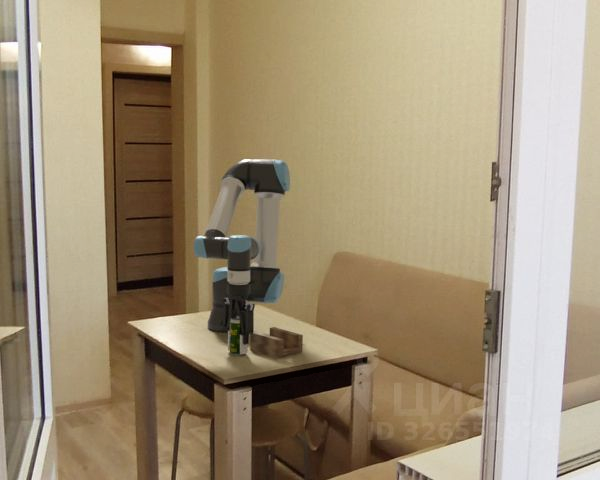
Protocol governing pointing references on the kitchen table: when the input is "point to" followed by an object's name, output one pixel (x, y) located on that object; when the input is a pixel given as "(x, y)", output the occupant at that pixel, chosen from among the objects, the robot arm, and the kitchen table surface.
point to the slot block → (276, 343)
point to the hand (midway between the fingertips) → (237, 351)
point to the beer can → (235, 336)
